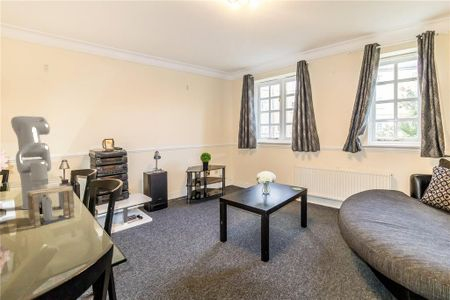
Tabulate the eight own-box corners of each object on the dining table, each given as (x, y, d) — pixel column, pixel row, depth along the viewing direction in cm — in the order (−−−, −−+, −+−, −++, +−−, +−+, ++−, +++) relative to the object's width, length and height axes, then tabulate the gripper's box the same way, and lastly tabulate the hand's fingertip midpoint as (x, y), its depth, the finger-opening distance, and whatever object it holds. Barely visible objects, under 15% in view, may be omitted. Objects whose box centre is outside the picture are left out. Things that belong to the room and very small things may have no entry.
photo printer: (42, 217, 137) (41, 196, 136) (52, 215, 140) (50, 194, 139) (43, 222, 129) (42, 199, 128) (53, 220, 132) (51, 198, 131)
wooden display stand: (29, 224, 126) (26, 191, 125) (67, 214, 141) (65, 185, 140) (35, 227, 121) (32, 193, 120) (74, 217, 136) (72, 186, 134)
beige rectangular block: (74, 206, 157) (72, 179, 156) (62, 209, 152) (60, 181, 151) (71, 204, 162) (69, 178, 161) (59, 207, 157) (57, 180, 156)
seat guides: (38, 222, 129) (38, 219, 129) (60, 216, 137) (60, 214, 137) (44, 225, 124) (43, 222, 124) (66, 219, 133) (66, 216, 133)
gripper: (27, 182, 139) (30, 213, 140) (36, 185, 130) (39, 217, 132) (42, 180, 145) (45, 209, 146) (52, 182, 137) (55, 213, 138)
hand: (42, 213), depth 139 cm, fingers closed
